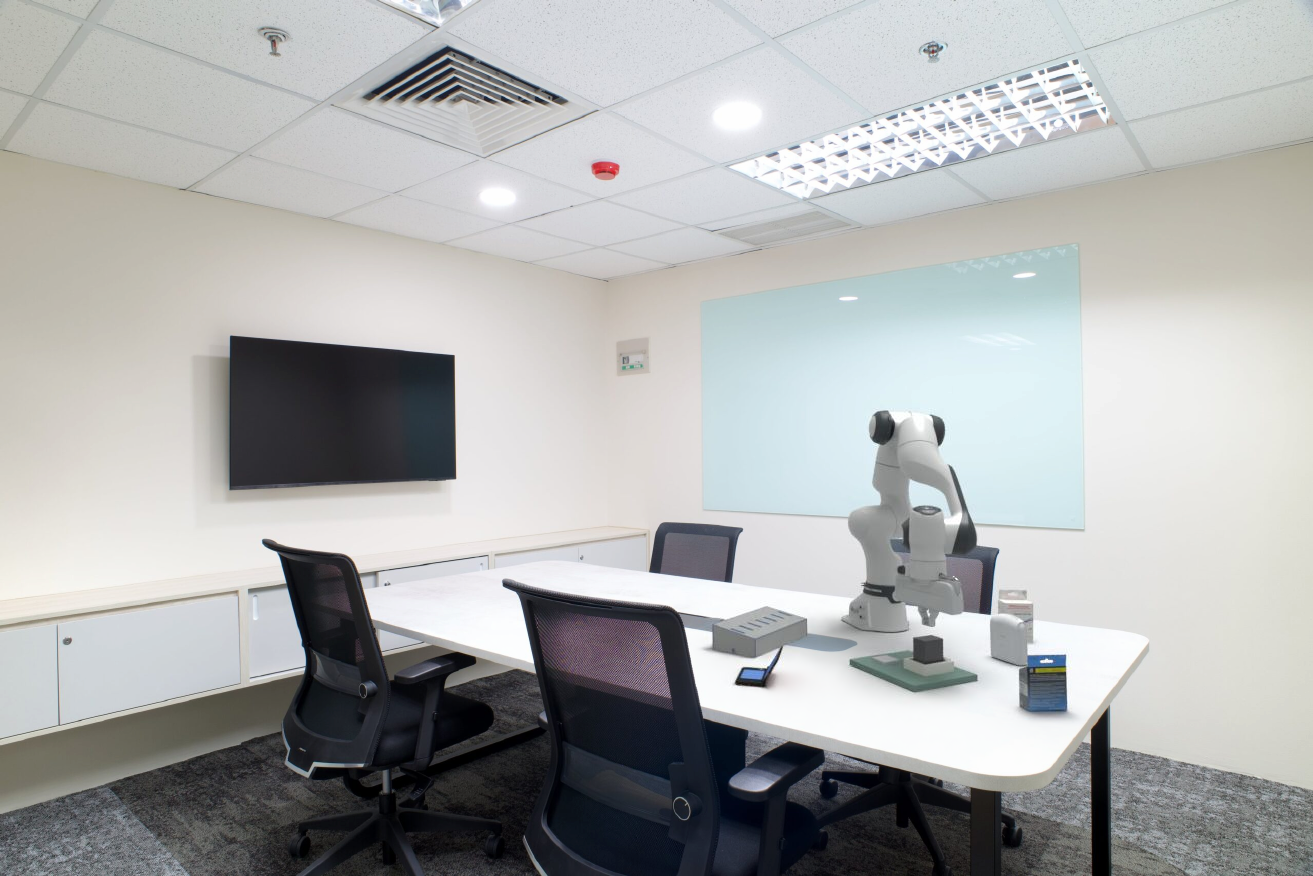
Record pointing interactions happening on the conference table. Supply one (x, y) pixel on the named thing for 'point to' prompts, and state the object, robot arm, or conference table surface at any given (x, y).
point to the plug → (928, 649)
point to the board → (913, 671)
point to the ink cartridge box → (1017, 608)
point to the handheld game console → (756, 674)
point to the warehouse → (758, 632)
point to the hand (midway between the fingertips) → (928, 625)
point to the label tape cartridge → (1043, 683)
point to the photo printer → (1008, 639)
